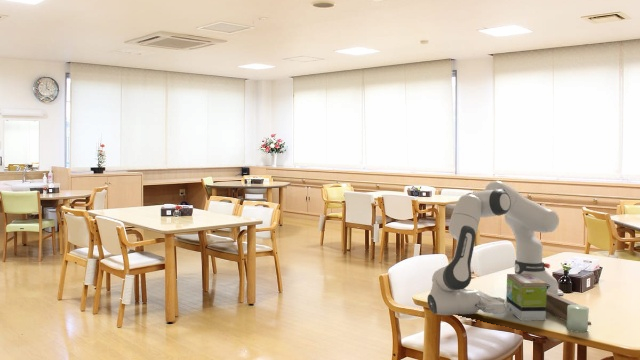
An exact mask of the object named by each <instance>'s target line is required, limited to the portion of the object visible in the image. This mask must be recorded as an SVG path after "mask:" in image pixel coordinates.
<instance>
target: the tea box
mask: <svg viewBox="0 0 640 360" xmlns="http://www.w3.org/2000/svg"><path fill="white" fill-rule="evenodd" d="M546 294H547V283H546V282H544V281H542V280H540V279H538V278H537V277H535V276H533V275H531V274H515V273H507V275H506V295H505V297H506V298H505V300H506V301H505V309H506V310H507V311H509V312H510V313H511V314H512V315H514V316H515V317H517V318H518V319H519V320H520V321H545V320H546V316H547V314H546V313H547V312H546Z"/></svg>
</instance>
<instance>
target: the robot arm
mask: <svg viewBox="0 0 640 360" xmlns="http://www.w3.org/2000/svg"><path fill="white" fill-rule="evenodd" d="M503 215H504V221H505V223H506V224H507V225H508V226H509V227H510V229H511V230H512V232H513V236H514V239H515V244H516V245H515V246H516V247H515V249H516V251H515V252H516V253H515V254H516V255H515V260H514V274H531V275H533V276H535V277H537V278H538V279H540V280H542V281H544V282H546V283H547V291H548V292H550V293H552V294H555V295H557V296H562V295H564V291H562V290H561V289H559V284H558V281H557V279H556V278H555V277H554V276H553V275H551V273H549V272H548V271H547V270H546V269H550V268H551V264H550V263H547V262H543V255H544V253H543V250H544V246H543V243H542V242H541V241H540V240H539V239H538V238H537V236H536V234H535V232H537V233H540V234H541V233H544V234H545V233H552V232H555V231H556V230H557V228H558V226H559V223H560V218H559V215H558V213H557V212H556V211H555V210H553V209H549V208H548V207H545V206H543V205H541V204H539V203H538V202H536V201H533V200H531V199H529V198H527V197H526V196H523V195H522V194H521V193H520V192H518V191H517V190H515V188H513V187H512V186H510V185H508V184H506V183H505V182H503V181H500V180H492V181H490V182H489V183H488V184H487V185H486V186H485V188H484V190H481V191H475V192H469V193H466V194H463V195H461V196H460V197H459V199H458V200H457V202H456V204H455V206H454V208H453V211H452V213H451V216H450V220H449V224H448V232H449V234H450V236H451V237H452V238H453V239H454V240H456V247H455V250H454V254H453V259H452V260H451V261H450V262H449V263H448V264H447V265H446V266H442V267H441V268H439V269H437V270H436V271H434V273H433V275H432V279H431V281H432V283H431V289H430V292H429V294H428V295H427V306H428V308H429V310H430V311H431V312H432V313H433V314H434V315H439V316H440V315H441V316H454V315H457V314H458V315H475V314H477V313H478V312H479V311H482V312H483V313H487V314H503V313H505V309H506V301H505V300H506V299H504V298H502V297H499V296H498V297H496V296H491V295H488V294H487V293H485V292H483V291H482V290H478V289H466V288H467V287H468V286H469V285H470V284H471V281H472V270H471V269H472V268H471V264H472V257H473V254H474V247H475V243H476V235H477V231H478V227H479V223H480V219H481V218H490V217H494V216H498V217H499V216H503Z"/></svg>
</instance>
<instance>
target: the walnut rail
mask: <svg viewBox="0 0 640 360" xmlns="http://www.w3.org/2000/svg"><path fill="white" fill-rule="evenodd" d="M568 305H579V303H576V302H574V301H571V300H568V299H566V298H563V297H562V296H560V295H555V294H552V293H550V292H548V291H547V294H546V313H548V314H550V315H551V316H555V317H556V316H557V318H558V317H559V319H561V320H563V321H565V322H567V308H568ZM588 325H592V322H591V321H589V320H588Z"/></svg>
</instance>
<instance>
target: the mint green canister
mask: <svg viewBox="0 0 640 360" xmlns="http://www.w3.org/2000/svg"><path fill="white" fill-rule="evenodd" d="M589 311H590V308H589V307H588V306H586V305H585V306H584V305H582V304H581V305H580V304H578V305H568V308H567V321H566V329H567V330H568V329H569V331H571V330H572V331H571V332H575V331H578V332H577V333H585V332H584V331H587V330H588V329H589V328H588V327H589V324H588V321H589ZM587 332H588V331H587Z"/></svg>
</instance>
